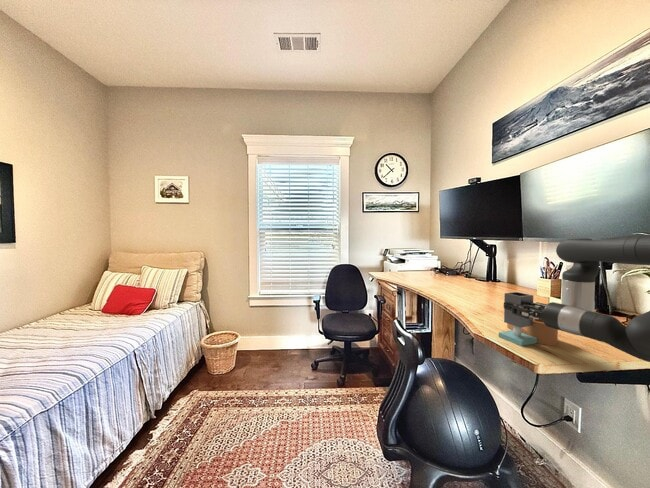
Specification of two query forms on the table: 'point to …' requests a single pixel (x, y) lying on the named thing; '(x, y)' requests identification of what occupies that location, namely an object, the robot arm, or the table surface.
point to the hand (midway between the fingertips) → (511, 304)
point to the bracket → (540, 332)
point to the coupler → (519, 300)
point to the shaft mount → (517, 337)
